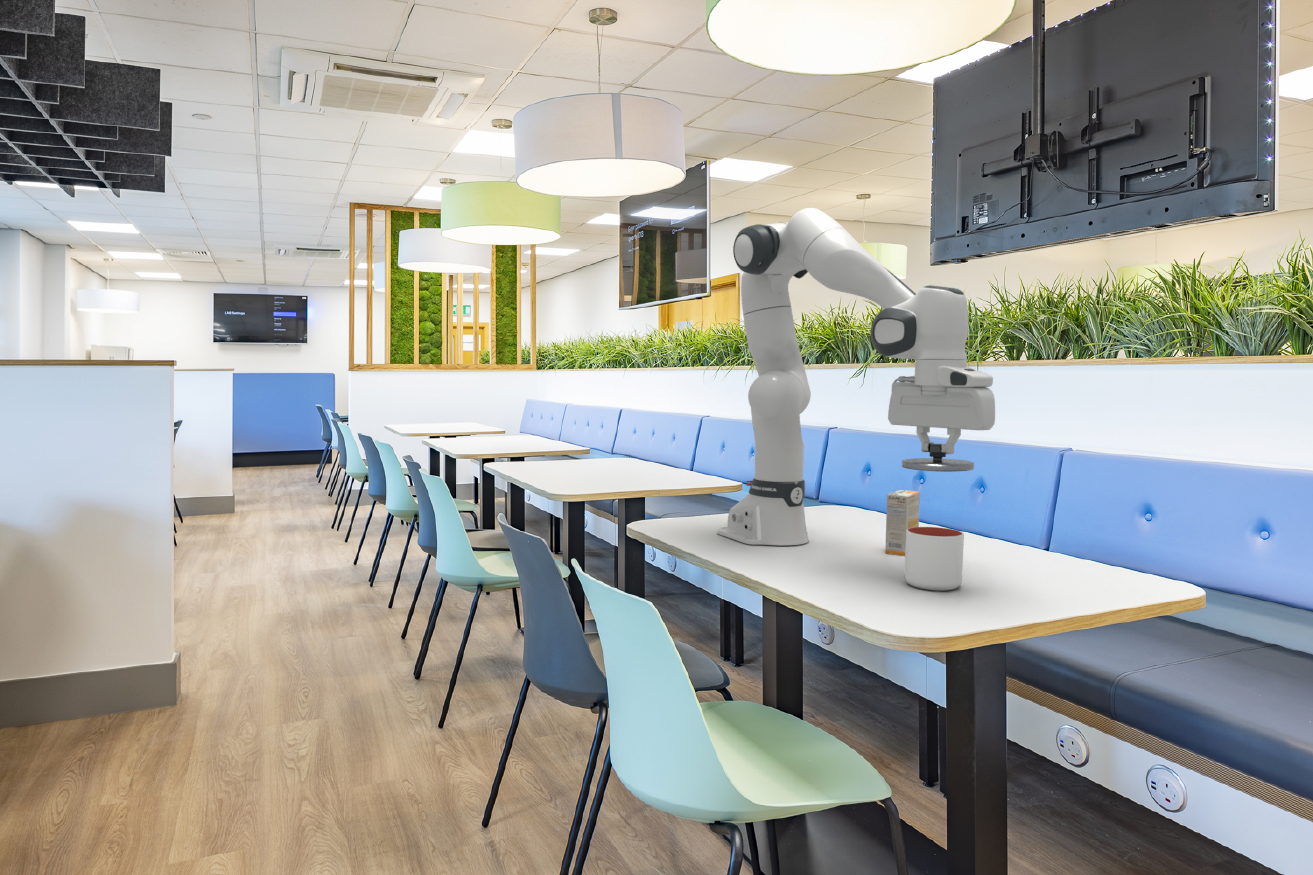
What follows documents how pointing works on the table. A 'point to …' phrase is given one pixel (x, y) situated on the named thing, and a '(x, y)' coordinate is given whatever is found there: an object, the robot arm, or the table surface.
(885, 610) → the table surface
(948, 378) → the robot arm
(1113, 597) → the table surface
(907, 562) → the cup
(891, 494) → the supplement box
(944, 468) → the lid
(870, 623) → the table surface
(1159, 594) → the table surface
